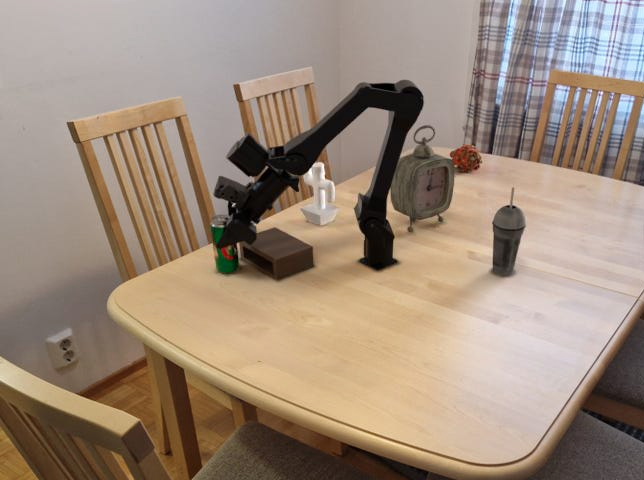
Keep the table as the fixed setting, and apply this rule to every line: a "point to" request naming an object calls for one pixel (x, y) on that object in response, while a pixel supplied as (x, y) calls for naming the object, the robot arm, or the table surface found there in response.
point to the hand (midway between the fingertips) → (217, 242)
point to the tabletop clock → (422, 183)
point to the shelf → (277, 253)
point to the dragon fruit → (466, 158)
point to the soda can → (226, 256)
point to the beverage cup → (507, 237)
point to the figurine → (320, 196)
